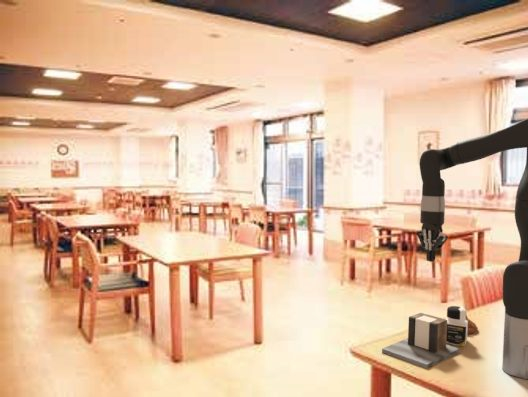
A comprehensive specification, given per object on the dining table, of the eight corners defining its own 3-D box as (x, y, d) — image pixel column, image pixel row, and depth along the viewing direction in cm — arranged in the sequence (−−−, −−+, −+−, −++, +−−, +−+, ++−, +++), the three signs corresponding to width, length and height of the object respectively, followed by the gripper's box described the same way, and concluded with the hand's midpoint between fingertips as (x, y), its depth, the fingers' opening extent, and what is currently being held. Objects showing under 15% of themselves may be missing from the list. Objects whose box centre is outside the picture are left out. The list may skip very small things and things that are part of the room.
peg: (428, 349, 152) (429, 322, 152) (414, 345, 156) (415, 318, 155) (436, 346, 156) (437, 319, 155) (422, 341, 159) (423, 315, 159)
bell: (449, 322, 186) (449, 304, 185) (481, 329, 178) (482, 310, 177) (438, 329, 177) (439, 310, 176) (472, 337, 169) (473, 317, 168)
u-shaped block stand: (426, 368, 142) (428, 334, 141) (382, 352, 154) (383, 320, 153) (459, 352, 155) (460, 320, 154) (415, 338, 167) (416, 309, 166)
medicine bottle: (442, 342, 163) (444, 308, 162) (445, 336, 169) (446, 303, 168) (465, 346, 159) (466, 311, 159) (467, 340, 166) (468, 306, 165)
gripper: (456, 211, 152) (453, 264, 153) (428, 207, 164) (426, 256, 166) (437, 211, 149) (435, 265, 151) (410, 208, 162) (408, 258, 163)
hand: (430, 261), depth 158 cm, fingers closed
